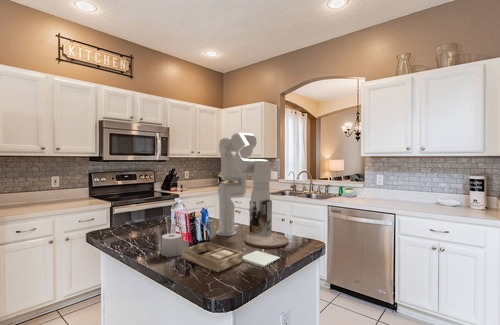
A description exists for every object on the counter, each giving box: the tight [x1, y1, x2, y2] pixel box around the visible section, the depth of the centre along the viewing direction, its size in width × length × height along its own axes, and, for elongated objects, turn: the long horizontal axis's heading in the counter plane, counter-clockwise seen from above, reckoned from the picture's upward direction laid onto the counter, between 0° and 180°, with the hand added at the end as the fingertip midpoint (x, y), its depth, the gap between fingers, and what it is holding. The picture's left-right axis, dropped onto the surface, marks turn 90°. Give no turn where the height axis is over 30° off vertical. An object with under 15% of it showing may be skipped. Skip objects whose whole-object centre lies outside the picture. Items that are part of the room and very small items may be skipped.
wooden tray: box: [181, 241, 244, 273], centre depth 125 cm, size 16×24×4 cm, turn 51°
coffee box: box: [248, 199, 273, 237], centre depth 126 cm, size 9×6×16 cm
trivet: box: [244, 232, 290, 249], centre depth 155 cm, size 25×25×2 cm
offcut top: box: [210, 250, 234, 261], centre depth 121 cm, size 9×6×2 cm
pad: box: [242, 250, 281, 268], centre depth 127 cm, size 13×14×1 cm
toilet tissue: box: [161, 232, 190, 258], centre depth 134 cm, size 9×13×9 cm
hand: (260, 223), depth 126 cm, fingers closed on coffee box, 7 cm apart
